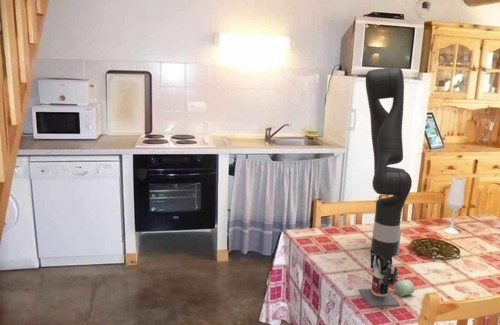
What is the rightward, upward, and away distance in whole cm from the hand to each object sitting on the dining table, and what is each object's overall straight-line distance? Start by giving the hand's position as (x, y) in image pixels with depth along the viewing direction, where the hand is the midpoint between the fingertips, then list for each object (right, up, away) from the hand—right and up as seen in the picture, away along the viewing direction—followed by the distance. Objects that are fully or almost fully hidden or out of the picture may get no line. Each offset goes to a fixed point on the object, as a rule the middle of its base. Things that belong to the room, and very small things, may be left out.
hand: (379, 288), depth 128 cm
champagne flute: (+50, +8, +59) cm, 77 cm away
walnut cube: (+6, -1, +11) cm, 13 cm away
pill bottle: (0, -2, 0) cm, 2 cm away
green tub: (+7, -1, +3) cm, 7 cm away
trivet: (0, -3, +1) cm, 3 cm away
